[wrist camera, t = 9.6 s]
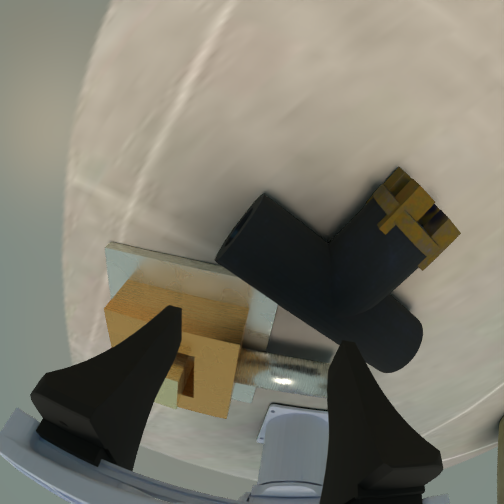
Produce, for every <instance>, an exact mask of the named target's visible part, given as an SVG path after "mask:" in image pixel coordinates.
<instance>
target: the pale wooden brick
mask: <svg viewBox="0 0 504 504" xmlns="http://www.w3.org/2000/svg"><path fill="white" fill-rule="evenodd" d="M194 359H195V357H194V356H190V355H186V354H182V353H178V352H177V355H176V358H175V360H174V362H173V364H172V366H171V368H170V370H169V372H168V374H167V376H166V378H165V380H164V382H163V384H162V386H161V388H160V390H159V392H158V394H157V396H156V398H155V400H154V402H156V403H158V404H161V405H164V406H167V407H170V408H173V409H177V406H178V404H179V401H180V398H181V396H182V393H183V390H184V388H185V385H186V383H187V380H188V377H189V375H190V372H191V369H192V367H193V364H194Z"/></svg>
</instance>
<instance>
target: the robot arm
mask: <svg viewBox="0 0 504 504" xmlns="http://www.w3.org/2000/svg"><path fill="white" fill-rule="evenodd" d="M181 341H182V308H180V307H176V306H172V305H168V306H167V307H165V308H164V309H163V310H162V311H161V312H160V313H159V314H157V315H156V316H155V317H154V318H153V319H151V320H150V321H149V322H148V323H147V324H145V325H144V326H143V327H141V328H140V329H139V330H138V331H136V332H135V333H134V334H132V335H131V336H129V337H128V338H126V339H125V340H124V341H122V342H121V343H119V344H117V345H116V346H114V347H112V348H111V349H109V350H107V351H105V352H103V353H101V354H99V355H97V356H95V357H93V358H91V359H89V360H87V361H84V362H82V363H79V364H76V365H73V366H71V367H68V368H64V369H60V370H56V371H52V372H49V373H46V374H45V375H44V376H43V377H42V378H41V380H40V381H39V383H38V384H37V385H36V387H35V388H34V390H33V391H32V393H31V394H30V396H31V400H32V402H33V404H34V405H35V407H36V408H37V410H38V411H39V413H40V414H41V416H42V417H43V419H42V421H41V423H39V422H38V421H37V420H36V419H35V418H33V417H32V416H30V415H28V414H27V413H25V412H24V411H22V410H21V409H19V408H16V409H15V410H14V412H13V413H12V415H11V416H10V418H9V419H8V421H7V422H6V424H5V425H4V427H3V428H2V430H1V432H0V455H1V456H2V457H3V458H5V459H6V460H7V461H8V462H9V463H10V464H11V465H13V466H14V467H15V468H16V469H17V470H19V471H20V472H22V473H23V474H24V475H26V476H27V477H29V478H31V479H32V480H33V481H35V482H37V483H38V484H39V485H41V486H43V487H44V488H46V489H47V490H49V491H51V492H52V493H54V494H56V495H57V496H59V497H61V498H63V499H64V500H66V501H68V502H70V503H71V504H450V502H449V495H448V494H442V495H437V496H431V497H427V498H424V499H422V494H423V493H424V492H425V487H424V485H425V484H427V483H428V482H430V481H431V480H433V479H434V478H436V477H437V476H438V475H439V474H440V473H441V472H442V470H443V464H442V459H441V454H440V451H439V450H438V449H437V448H435V447H434V446H433V445H431V444H430V443H429V442H427V441H426V440H425V439H424V438H423V437H421V436H420V435H419V434H418V433H417V432H416V431H415V430H414V429H413V428H412V427H411V426H410V425H409V424H408V423H407V422H406V421H405V420H404V419H403V418H402V417H401V415H400V414H399V413H398V412H397V411H396V409H395V408H394V407H393V406H392V404H391V403H390V402H389V400H388V399H387V397H386V396H385V395H384V393H383V391H382V390H381V388H380V387H379V385H378V384H377V382H376V380H375V378H374V377H373V375H372V373H371V371H370V370H369V368H368V366H367V364H366V362H365V360H364V358H363V357H362V355H361V353H360V351H359V349H358V347H357V345H356V343H355V342H350V341H344V340H342V342H341V344H340V346H339V348H338V350H337V352H336V355H335V357H334V359H333V361H332V363H331V365H330V367H329V369H328V379H327V402H328V411H319V410H311V409H304V408H296V407H290V406H283V405H277V404H271V405H270V406H269V409H268V411H267V414H266V417H265V419H264V422H263V424H262V427H261V429H260V432H259V435H258V437H257V442H258V443H262V444H264V445H263V451H262V458H261V464H260V470H259V476H258V482H257V485H253V487H252V492H246V493H245V494H244V495H243V496H241V497H240V498H239V500H233V499H228V498H223V497H217V496H213V495H209V494H205V493H201V492H196V491H192V490H189V489H185V488H181V487H178V486H174V485H171V484H168V483H164V482H161V481H158V480H155V479H152V478H149V477H146V476H143V475H141V474H138V473H135V472H132V470H133V466H134V462H135V459H136V455H137V451H138V448H139V444H140V441H141V438H142V434H143V431H144V428H145V425H146V422H147V419H148V416H149V414H150V411H151V408H152V405H153V403H154V400H155V398H156V396H157V394H158V392H159V390H160V388H161V386H162V384H163V382H164V380H165V378H166V376H167V374H168V372H169V370H170V368H171V366H172V364H173V362H174V360H175V358H176V355H177V352H178V350H179V347H180V344H181ZM155 498H158V499H160V500H157V499H155ZM161 500H164V501H161ZM165 501H167V502H165ZM169 502H170V503H169Z"/></svg>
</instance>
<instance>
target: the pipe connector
mask: <svg viewBox="0 0 504 504" xmlns="http://www.w3.org/2000/svg"><path fill="white" fill-rule="evenodd" d="M434 203H435V201H434V200H433V199H432V198H431V197H430V196H429V195H428V194H427V192H426V191H425V190H424V189H423V188H422V187H421V186H420V185H419V184H418V183H417V182H416V181H415V180H414V179H411V178H410V177H409V176H408V175H407V173H406V172H404V171H403V170H402V169H401V168H400V167H398V168H397V170H396V171H395V172H394V173H393V174H392V175H391V176H390V177H389V178H388V179H387V180H386V182H385V183H384V184H382V185H381V186H380V187H379V188H378V189H377V190H376V191H375V192H374V193H373V196H372V197H371V198H370V199H369V200H368V201H367V202H366V205H365V206H364V208H363V209H362V210H361V211H360V212H359V213H358V214H357V215H356V216H355V217H354V218H353V219H352V220H351V221H350V222H349V223H348V224H347V225H346V226H345V227H344V228H343V229H342V230H341V231H340V233H339V234H338V235H337V236H336V237H335V238H334V239H333V240H332V241H331V242H330V243H329V244H328V243H327V242H326V241H324V240H323V239H322V238H321V237H319V236H318V235H317V234H315V233H314V232H313V231H312V230H310V229H309V228H308V227H307V226H305V225H304V224H303V223H301V222H300V221H299V220H298V219H296V218H295V217H294V216H292V215H291V214H290V213H288V212H287V211H286V210H285V209H283V208H282V207H281V206H279V205H278V204H277V203H275V202H274V201H273V200H271V199H270V198H269V197H267V196H266V195H265V194H262V195H261V196H260V197H259V198H258V199H257V200H256V201H255V202H254V203H253V204H252V206H251V207H250V208H249V209H248V211H247V212H246V213H245V214H244V216H243V217H242V218H241V220H240V221H239V222H238V223H237V225H236V226H235V227H234V229H233V230H232V232H231V233H230V234H229V236H228V237H227V239H226V240H225V242H224V244H223V245H222V247H221V249H220V250H219V252H218V254H217V256H216V258H215V261H216V262H217V263H218V264H220V265H221V266H223V267H224V268H226V269H227V270H229V271H230V272H231V273H233V274H234V275H236V276H237V277H239V278H240V279H242V280H243V281H244V282H246V283H247V284H249V285H250V286H252V287H253V288H255V289H256V290H258V291H259V292H260V293H262V294H263V295H265V296H266V297H268V298H269V299H271V300H272V301H274V302H275V303H277V304H278V305H280V306H281V307H283V308H284V309H286V310H287V311H289V312H290V313H292V314H293V315H295V316H296V317H298V318H299V319H301V320H302V321H304V322H305V323H307V324H308V325H310V326H311V327H313V328H314V329H316V330H317V331H319V332H320V333H322V334H323V335H325V336H326V337H328V338H329V339H331V340H332V341H334V342H335V343H337V344H338V345H340V344H341V342H342V340H344V341H350V342H355V343H356V345H357V347H358V349H359V351H360V353H361V355H362V357H363V358H364V360H365V362H366V363H368V364H370V365H371V366H373V367H374V368H376V369H377V370H379V371H381V372H383V373H391V372H395V371H398V370H399V369H401V368H403V367H404V366H405V365H407V364H408V363H409V362H410V361H411V360H412V359H413V357H414V356H415V354H416V353H417V351H418V349H419V347H420V345H421V342H422V337H423V328H422V324H421V323H420V321H419V320H418V319H417V318H416V317H415V316H414V315H413V314H412V313H410V312H409V311H408V310H407V309H406V308H405V307H404V306H402V305H401V304H400V303H399V302H398V301H397V300H396V299H394V298H393V297H392V296H391V295H390V293H391V292H392V291H393V290H394V289H395V288H396V287H398V286H399V285H400V284H401V283H402V282H403V281H404V280H405V279H407V278H408V277H409V276H410V275H411V274H412V273H413V272H414V271H415V270H416V269H417V268H420V269H421V270H422V271H423V270H424V269H425V268H426V267H427V266H428V265H429V264H430V263H431V262H433V261H434V260H435V259H436V258H437V257H438V256H439V255H440V254H441V253H442V252H443V251H444V250H445V249H446V248H447V247H448V246H449V245H450V244H451V243H452V242H453V241H454V240H455V239H456V238H457V237H458V236H459V235H460V234H461V233H460V232H459V230H458V229H457V228H456V227H455V225H454V224H453V223H452V222H451V220H450V219H449V218H448V217H447V216H446V215H445V214H444V213H443V212H442V211H441V210H439V208H438V207H437V206H436V205H435V204H434Z"/></svg>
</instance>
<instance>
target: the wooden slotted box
mask: <svg viewBox="0 0 504 504" xmlns="http://www.w3.org/2000/svg"><path fill="white" fill-rule="evenodd" d="M105 254H106V264H107V273H108V281H109V288H110V295H111V301H110V302H109V303H108V304H107V306H106V307H105V308H104V312H105V317H106V322H107V327H108V332H109V337H110V341H111V346H112V347H114V346H116V345H117V344H119V343H121V342H122V341H124V340H125V339H126V338H128V337H129V336H131V335H132V334H134V333H135V332H136V331H138V330H139V329H140V328H141V327H143V326H144V325H145V324H147V323H148V322H149V321H150V320H151V319H153V318H154V317H155V316H156V315H157V314H159V313H160V312H161V311H162V310H163V309H164V308H165V307H167V306H168V305H172V306H176V307H180V308H182V341H181V344H180V347H179V350H178V353H182V354H186V355H190V356H194V357H195V359H194V364H193V367H192V369H191V372H190V375H189V377H188V380H187V383H186V385H185V388H184V390H183V393H182V396H181V398H180V401H179V404H178V406H177V407H180V408H184V409H188V410H191V411H195V412H199V413H203V414H207V415H211V416H215V417H220V418H224V419H227V415H228V411H229V407H230V403H231V399H233V400H238V401H243V402H248V403H252V399H253V395H254V392H255V388H256V387H259V388H264V389H270V390H275V391H281V392H287V393H294V394H300V395H307V396H315V397H322V398H327V379H328V369H329V367H330V365H331V363H325V362H318V361H312V360H305V359H299V358H293V357H288V356H282V355H277V354H271V353H266V348H267V344H268V340H269V337H270V333H271V329H272V325H273V321H274V317H275V313H276V309H277V306H278V304H277V303H275V302H274V301H272V300H271V299H269V298H268V297H266V296H265V295H263V294H262V293H260V292H259V291H258V290H256V289H255V288H253V287H252V286H250V285H249V284H247V283H246V282H244V281H243V280H242V279H240V278H239V277H237V276H236V275H234V274H233V273H231V272H230V271H229V270H227V269H226V268H224V267H223V266H219V265H214V264H209V263H205V262H200V261H195V260H191V259H186V258H181V257H177V256H172V255H168V254H163V253H158V252H154V251H149V250H145V249H140V248H136V247H132V246H127V245H123V244H118V243H114V242H110V243H109V244H108V245H107V246H106V247H105Z"/></svg>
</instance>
